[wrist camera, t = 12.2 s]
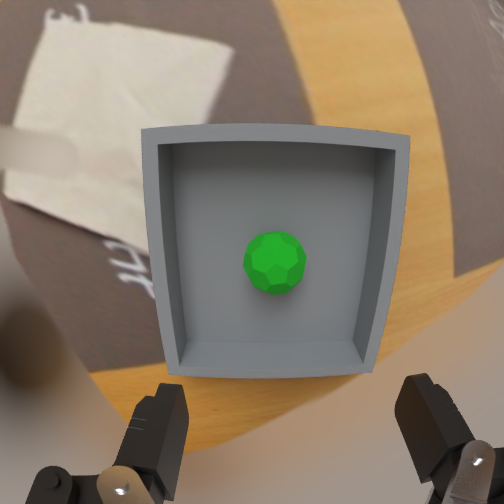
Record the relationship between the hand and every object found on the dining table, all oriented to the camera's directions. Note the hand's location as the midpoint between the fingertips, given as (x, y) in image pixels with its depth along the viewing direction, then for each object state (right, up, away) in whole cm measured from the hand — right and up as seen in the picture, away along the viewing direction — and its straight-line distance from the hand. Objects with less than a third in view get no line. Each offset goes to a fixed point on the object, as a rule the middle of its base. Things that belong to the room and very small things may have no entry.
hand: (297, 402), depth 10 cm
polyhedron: (0, +5, +17) cm, 18 cm away
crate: (0, +5, +18) cm, 19 cm away
